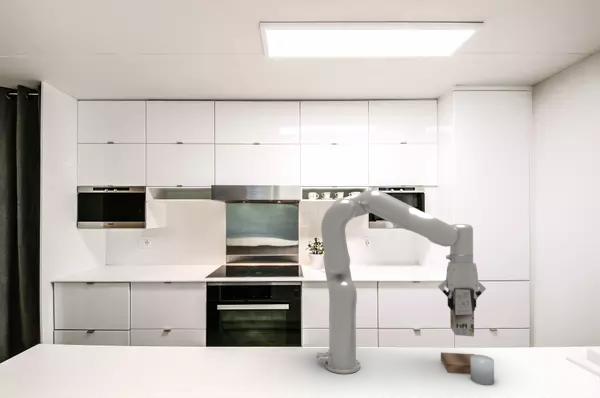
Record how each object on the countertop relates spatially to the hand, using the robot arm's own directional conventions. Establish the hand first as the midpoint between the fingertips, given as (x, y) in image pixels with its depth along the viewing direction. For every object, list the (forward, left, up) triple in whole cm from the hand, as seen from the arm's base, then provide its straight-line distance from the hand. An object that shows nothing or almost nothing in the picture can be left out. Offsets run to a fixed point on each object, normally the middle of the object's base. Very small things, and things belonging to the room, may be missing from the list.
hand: (461, 308), depth 134 cm
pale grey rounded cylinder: (+4, -9, -21) cm, 23 cm away
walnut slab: (0, 0, -21) cm, 21 cm away
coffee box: (0, 0, -8) cm, 8 cm away
